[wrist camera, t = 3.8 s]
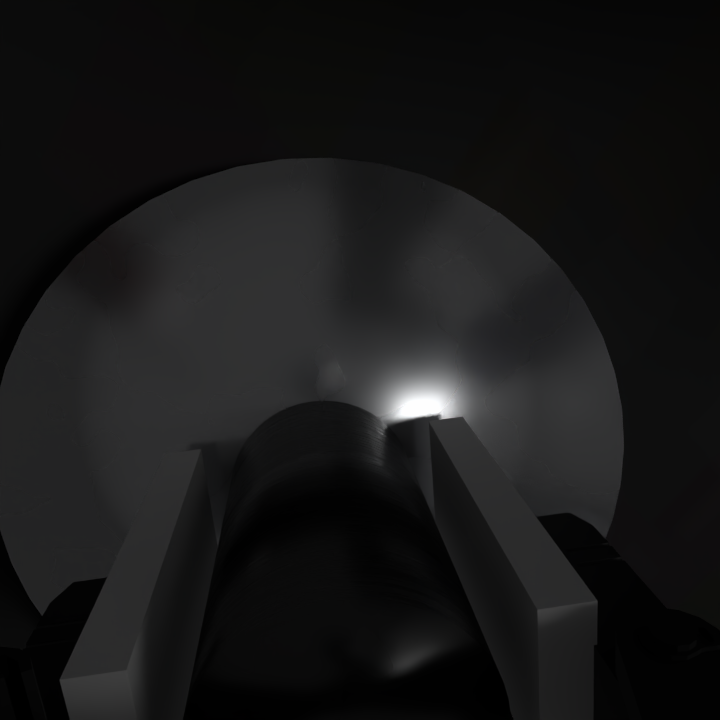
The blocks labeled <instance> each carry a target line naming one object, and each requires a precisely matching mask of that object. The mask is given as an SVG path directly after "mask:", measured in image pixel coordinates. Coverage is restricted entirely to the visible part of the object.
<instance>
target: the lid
mask: <svg viewBox="0 0 720 720" xmlns="http://www.w3.org/2000/svg"><path fill="white" fill-rule="evenodd" d="M456 417H463V418H464V419H465V421H466V422H467V423H468V425H469V426H470V427H471V429H472V430H473V432H474V433H475V434H476V436H477V437H478V438H479V440H480V441H481V442H482V444H483V445H484V447H485V448H486V449H487V451H488V452H489V453H490V455H491V456H492V457H493V459H494V460H495V462H496V463H497V464H498V466H499V467H500V468H501V470H502V471H503V472H504V474H505V475H506V477H507V478H508V479H509V481H510V482H511V483H512V485H513V486H514V487H515V489H516V490H517V492H518V493H519V494H520V496H521V497H522V498H523V500H524V501H525V502H526V504H527V505H528V507H529V508H530V509H531V511H532V512H533V513H534V515H535V516H536V517H538V516H545V515H552V514H560V513H567V512H570V513H571V514H573V515H575V516H577V517H579V518H581V519H582V520H584V521H586V522H588V523H590V524H592V525H593V526H594V527H595V528H596V529H597V530H598V531H599V532H600V534H601V535H602V536H603V537H604V538H605V539H606V536H607V533H608V530H609V528H610V525H611V522H612V519H613V516H614V511H615V507H616V502H617V497H618V493H619V488H620V484H621V474H622V463H623V451H624V439H623V419H622V407H621V402H620V397H619V391H618V386H617V381H616V376H615V372H614V369H613V366H612V363H611V360H610V357H609V354H608V351H607V348H606V345H605V342H604V339H603V337H602V335H601V333H600V331H599V329H598V327H597V325H596V323H595V321H594V319H593V317H592V315H591V313H590V311H589V309H588V307H587V305H586V303H585V302H584V300H583V299H582V297H581V296H580V295H579V293H578V292H577V290H576V289H575V287H574V286H573V285H572V283H571V282H570V280H569V279H568V278H567V276H566V275H565V273H564V272H563V271H562V269H561V268H560V267H559V266H558V265H557V264H556V263H555V262H554V261H553V260H552V259H551V258H550V257H549V255H548V254H547V253H546V252H545V251H544V250H543V249H542V248H541V247H540V246H539V245H538V244H537V243H536V242H535V241H534V240H533V239H532V238H531V237H530V236H528V235H527V234H526V233H525V232H523V231H522V230H521V229H519V228H518V227H517V226H516V225H514V224H513V223H512V222H511V221H509V220H508V219H507V218H506V217H504V216H503V215H502V214H500V213H499V212H497V211H495V210H494V209H492V208H490V207H489V206H487V205H485V204H483V203H482V202H480V201H478V200H477V199H475V198H473V197H471V196H470V195H468V194H466V193H465V192H463V191H461V190H458V189H456V188H453V187H451V186H448V185H446V184H444V183H441V182H439V181H436V180H434V179H431V178H429V177H426V176H424V175H422V174H418V173H414V172H410V171H406V170H402V169H398V168H394V167H390V166H386V165H383V164H379V163H372V162H363V161H354V160H345V159H336V158H306V159H281V160H275V161H269V162H263V163H256V164H250V165H244V166H238V167H234V168H231V169H228V170H225V171H221V172H218V173H215V174H212V175H208V176H205V177H202V178H199V179H195V180H192V181H190V182H188V183H186V184H183V185H181V186H179V187H177V188H175V189H173V190H171V191H168V192H166V193H164V194H162V195H160V196H158V197H156V198H153V199H151V200H149V201H148V202H146V203H145V204H143V205H141V206H140V207H138V208H137V209H135V210H134V211H132V212H131V213H129V214H128V215H126V216H125V217H123V218H121V219H120V220H118V221H117V222H115V223H114V224H112V225H111V226H109V227H108V228H107V229H106V230H105V231H104V232H103V233H101V234H100V235H99V236H98V237H97V238H96V239H95V240H93V241H92V242H91V243H90V244H89V245H88V246H87V247H85V248H84V249H83V250H82V251H81V252H80V253H79V254H77V255H76V256H75V257H74V258H73V260H72V261H71V262H70V263H69V264H68V265H67V267H66V268H65V269H64V270H63V271H62V272H61V274H60V275H59V276H58V277H57V278H56V279H55V281H54V282H53V283H52V284H51V285H50V287H49V288H48V289H47V290H46V291H45V293H44V295H43V296H42V298H41V299H40V301H39V303H38V304H37V306H36V307H35V309H34V311H33V312H32V314H31V315H30V317H29V319H28V320H27V322H26V323H25V325H24V326H23V328H22V330H21V333H20V335H19V337H18V340H17V342H16V344H15V347H14V349H13V351H12V353H11V356H10V358H9V360H8V363H7V365H6V367H5V371H4V375H3V378H2V382H1V386H0V531H1V534H2V537H3V540H4V543H5V546H6V549H7V552H8V554H9V557H10V560H11V563H12V565H13V567H14V569H15V571H16V573H17V575H18V577H19V579H20V581H21V583H22V585H23V587H24V589H25V590H26V592H27V594H28V596H29V598H30V600H31V601H32V602H33V604H34V605H35V607H36V608H37V610H38V611H39V612H40V614H41V615H42V616H43V614H44V612H45V611H46V609H47V607H48V605H49V604H50V602H51V601H53V600H54V599H55V598H56V597H57V596H58V595H59V594H61V593H62V592H63V591H64V590H65V589H66V588H67V587H68V586H70V585H71V584H72V583H73V582H77V581H84V580H92V579H99V578H106V577H108V575H109V573H110V571H111V568H112V566H113V564H114V562H115V560H116V558H117V556H118V553H119V551H120V549H121V547H122V545H123V543H124V541H125V538H126V536H127V534H128V532H129V530H130V528H131V526H132V523H133V521H134V519H135V517H136V515H137V513H138V511H139V508H140V506H141V504H142V502H143V500H144V498H145V496H146V493H147V491H148V489H149V487H150V485H151V483H152V481H153V478H154V476H155V474H156V472H157V470H158V468H159V466H160V463H161V461H162V459H163V457H164V455H165V453H173V452H181V451H189V450H197V449H201V450H202V456H203V462H204V468H205V474H206V480H207V486H208V492H209V497H210V503H211V509H212V515H213V521H214V527H215V533H216V539H217V545H218V548H217V553H216V558H215V563H214V568H213V573H212V578H211V583H210V588H209V593H208V598H207V603H206V608H205V613H204V618H203V623H202V628H201V633H200V637H199V642H198V647H197V652H196V657H195V662H194V667H193V672H192V677H191V682H190V687H189V692H188V697H187V702H186V707H185V712H184V717H183V720H511V714H510V705H509V699H508V696H507V692H506V688H505V685H504V682H503V680H502V678H501V675H500V673H499V671H498V668H497V666H496V663H495V661H494V659H493V656H492V654H491V652H490V649H489V647H488V645H487V642H486V640H485V638H484V635H483V633H482V631H481V628H480V626H479V624H478V621H477V619H476V617H475V614H474V612H473V609H472V607H471V605H470V602H469V600H468V598H467V595H466V593H465V591H464V588H463V586H462V584H461V581H460V579H459V577H458V574H457V572H456V570H455V567H454V565H453V562H452V560H451V558H450V555H449V553H448V551H447V548H446V546H445V544H444V541H443V539H442V537H441V534H440V532H439V530H438V527H437V525H436V523H435V509H434V494H433V479H432V464H431V450H430V435H429V421H431V420H440V419H448V418H456Z"/></svg>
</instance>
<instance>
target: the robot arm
mask: <svg viewBox="0 0 720 720" xmlns="http://www.w3.org/2000/svg"><path fill="white" fill-rule="evenodd" d="M429 435H430V450H431V464H432V479H433V494H434V509H435V523H436V525H437V527H438V530H439V532H440V534H441V537H442V539H443V541H444V544H445V546H446V548H447V551H448V553H449V555H450V558H451V560H452V562H453V565H454V567H455V570H456V572H457V574H458V577H459V579H460V581H461V584H462V586H463V588H464V591H465V593H466V595H467V598H468V600H469V602H470V605H471V607H472V609H473V612H474V614H475V617H476V619H477V621H478V624H479V626H480V628H481V631H482V633H483V635H484V638H485V640H486V642H487V645H488V647H489V649H490V652H491V654H492V656H493V659H494V661H495V663H496V666H497V668H498V671H499V673H500V675H501V678H502V680H503V682H504V685H505V688H506V692H507V696H508V699H509V705H510V712H511V714H512V716H513V719H514V720H720V631H719V630H718V629H717V628H715V627H714V626H712V625H710V624H709V623H707V622H706V621H704V620H702V619H701V618H699V617H696V616H693V615H690V614H688V613H685V612H682V611H679V610H672V609H667V608H666V607H665V606H664V605H663V604H662V603H661V602H660V600H659V599H658V598H657V597H656V596H655V595H654V594H653V592H652V591H651V590H650V589H649V588H648V587H647V586H646V585H645V583H644V582H643V581H642V580H641V579H640V578H639V577H638V575H637V574H636V573H635V572H634V571H633V570H632V569H631V568H630V566H629V565H628V564H627V563H626V562H625V561H622V559H621V556H620V555H619V554H618V553H617V552H616V551H615V549H614V548H613V547H612V546H609V543H608V541H607V540H606V539H605V538H604V537H603V536H602V535H601V534H600V532H599V531H598V530H597V529H596V528H595V527H594V526H593V525H592V524H590V523H588V522H586V521H584V520H582V519H581V518H579V517H577V516H575V515H573V514H571V513H570V512H567V513H560V514H552V515H545V516H538V517H536V516H535V515H534V513H533V512H532V511H531V509H530V508H529V507H528V505H527V504H526V502H525V501H524V500H523V498H522V497H521V496H520V494H519V493H518V492H517V490H516V489H515V487H514V486H513V485H512V483H511V482H510V481H509V479H508V478H507V477H506V475H505V474H504V472H503V471H502V470H501V468H500V467H499V466H498V464H497V463H496V462H495V460H494V459H493V457H492V456H491V455H490V453H489V452H488V451H487V449H486V448H485V447H484V445H483V444H482V442H481V441H480V440H479V438H478V437H477V436H476V434H475V433H474V432H473V430H472V429H471V427H470V426H469V425H468V423H467V422H466V421H465V419H464V418H463V417H456V418H448V419H440V420H431V421H429ZM217 548H218V545H217V539H216V533H215V527H214V521H213V515H212V509H211V503H210V497H209V492H208V486H207V480H206V474H205V468H204V462H203V456H202V450H201V449H197V450H189V451H181V452H173V453H165V455H164V457H163V459H162V461H161V463H160V466H159V468H158V470H157V472H156V474H155V476H154V478H153V481H152V483H151V485H150V487H149V489H148V491H147V493H146V496H145V498H144V500H143V502H142V504H141V506H140V508H139V511H138V513H137V515H136V517H135V519H134V521H133V523H132V526H131V528H130V530H129V532H128V534H127V536H126V538H125V541H124V543H123V545H122V547H121V549H120V551H119V553H118V556H117V558H116V560H115V562H114V564H113V566H112V568H111V571H110V573H109V575H108V577H106V578H99V579H92V580H84V581H77V582H73V583H72V584H71V585H70V586H68V587H67V588H66V589H65V590H64V591H63V592H62V593H61V594H59V595H58V596H57V597H56V598H55V599H54V600H53V601H51V602H50V604H49V605H48V607H47V609H46V611H45V612H44V614H43V616H42V618H41V619H40V621H39V623H38V624H37V629H36V630H34V631H33V633H32V635H31V637H30V638H29V640H28V642H27V644H26V649H23V651H22V650H20V649H16V648H7V647H0V720H183V717H184V712H185V707H186V702H187V697H188V692H189V687H190V682H191V677H192V672H193V667H194V662H195V657H196V652H197V647H198V642H199V637H200V633H201V628H202V623H203V618H204V613H205V608H206V603H207V598H208V593H209V588H210V583H211V578H212V573H213V568H214V563H215V558H216V553H217Z"/></svg>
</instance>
